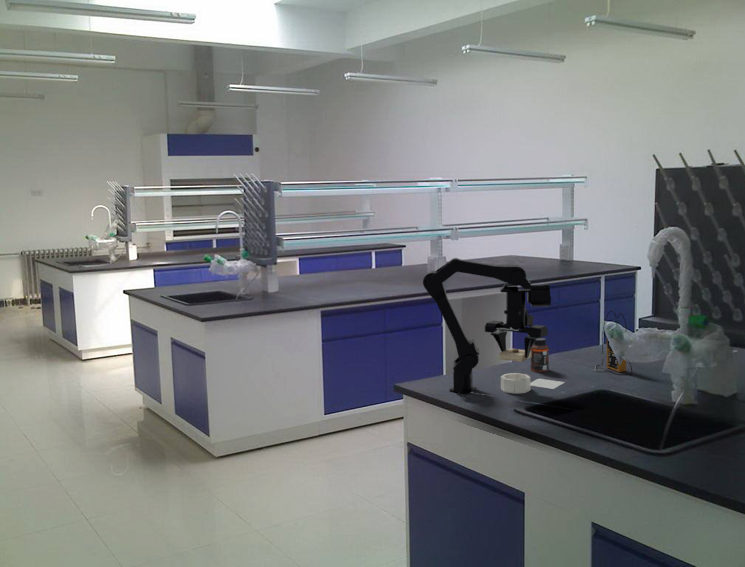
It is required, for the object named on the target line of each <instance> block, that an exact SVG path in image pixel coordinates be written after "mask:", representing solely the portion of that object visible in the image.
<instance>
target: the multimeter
mask: <svg viewBox="0 0 745 567" xmlns="http://www.w3.org/2000/svg"><path fill="white" fill-rule="evenodd" d="M610 313H614V316H615V318H620V315H621V316H622V318H623V322H624V323H625V331H627V322H626V320H625V316H624V314H623V313H622V312H620V313H619V314H618V316H617V315H616V313H615V311H614V310H610V311H609V312H608V313H607V314H606V316H605V319H604V323H603V326H602V333H601V344H602V345H601V346H602V347H601V348H602V353H604V342H603V341H604V340H603V339H604V338H603V337H604V336H603V335H604V329H605V324H606V320H607V317H608V316H609V314H610ZM615 323H616V325H617V324H618V325H619V322H615ZM628 362H629V361H628ZM603 364H604V360H602V361H601V364H598V365H595V366H594V370H595V371H596V372H607V370H604V369H597V367H601V366H602V365H603ZM631 364H632V363H631V362H629V366H630V371H631V373H628V374H624V373H623V374H622V372H626V371H627V360H626V361H625V360H623V361H622V363H621V365H619V363H618V361H617V359H616V357H615V355H614V353H613V351H612V349H611V347H610V345H609V341H608V339H607V338H606V368H607V369H609V368H610V369H611V370H608V372H610V373H612V374H614V375H618V376H631V375H633V368H632V365H631ZM600 365H601V366H600ZM612 370H613V371H616V372H618V373H616V372H613V371H612Z"/></svg>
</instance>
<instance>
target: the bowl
mask: <svg viewBox="0 0 745 567" xmlns="http://www.w3.org/2000/svg"><path fill="white" fill-rule="evenodd" d="M530 383H531V376H530V375H528V374H525V373H520V372H519V373H518V372H513V373H511V372H510V373H505V374H503V375H501V376H500V390H501V391H503V393H508V394H526V393H528V392H529V391H531V386H530Z"/></svg>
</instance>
